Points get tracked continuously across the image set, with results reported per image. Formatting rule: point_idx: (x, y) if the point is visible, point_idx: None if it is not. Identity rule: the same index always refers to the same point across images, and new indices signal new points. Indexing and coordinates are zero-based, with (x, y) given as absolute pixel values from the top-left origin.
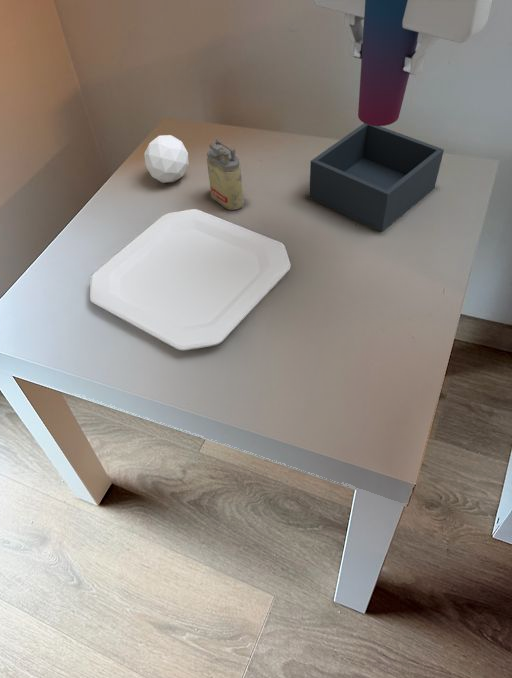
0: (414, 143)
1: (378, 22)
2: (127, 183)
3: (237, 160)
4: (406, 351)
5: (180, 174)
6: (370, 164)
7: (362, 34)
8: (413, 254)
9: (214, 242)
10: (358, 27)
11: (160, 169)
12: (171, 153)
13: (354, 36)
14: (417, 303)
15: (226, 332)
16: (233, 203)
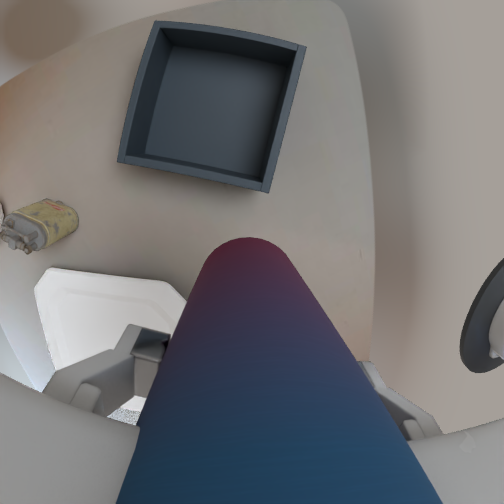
0: (253, 41)
1: None
2: None
3: (39, 232)
4: (343, 337)
5: (1, 221)
6: (188, 55)
7: (126, 370)
8: (315, 209)
9: (98, 303)
10: (105, 390)
11: None
12: None
13: (121, 403)
14: (340, 282)
15: None
16: (70, 232)
